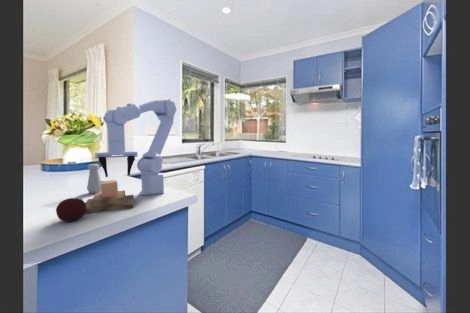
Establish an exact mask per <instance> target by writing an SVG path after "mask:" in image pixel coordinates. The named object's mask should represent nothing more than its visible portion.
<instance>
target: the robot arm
mask: <svg viewBox="0 0 470 313" xmlns="http://www.w3.org/2000/svg"><path fill="white" fill-rule="evenodd" d="M150 111H151V112H154V115H155V116H156V117H157V118H158V120H159V122H160V123H159V125H158V127H157V130H156V132H155V135H154V137H153V139H152V141H151V144H150V146H149V148H148V151H147V152H144V154H142V157H140V158H139V160H138V162H137V164H136V168H137V170H138V171H140V178H141V190H140V194H141V195H140V196H147V195H148V196H149V195H150V196H151V195H159V194H164V193H165V192H164V189H165V185H164V183H165V182H164V174H163V172H161V170H162V167H163V161H164V159H163V157H162V156H161V154H162V151H163V149H164V147H165V144H166V141H167V140H168V136H169V134H170V133H171V130H172V127H173V124H174V119H175V117H174V116H175V114H176V112H177V107H176V104H175V102H174V100H172V99H164V100H163V99H161V100H160V99H159V100H151V101H148V102H146V103H142V104H140V105H137V104H134V103H127V104H126V105H125V106H117V107H116V109H109V110H107V111H106V112H105V113H104V116H103V121H104V123H105V124H106V128H107V145H108V146H107V147H108V148H107V150H108V152H105V151H103V152H94V158H95V159H98V162H99V164H100V165H101V167H102V168H103V172H104V176H105V178H108V176H109V174H108V173H109V172H108V168H107V167H108V166H107V159H108V158H109V159H111V158H112V159H113V158H126V160H127V162H126V163H127V174H126V175H127V176H131V169H132V167H133V165H134V162H135V161H136V158H137V157H138V155H139V154H138V151H126V145H125V144H126V140H125V138H126V136H125V124H126V123H127V122H130V121H133V120H135V119H138V118H140V116H141V114H143V113H147V112H150Z"/></svg>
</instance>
